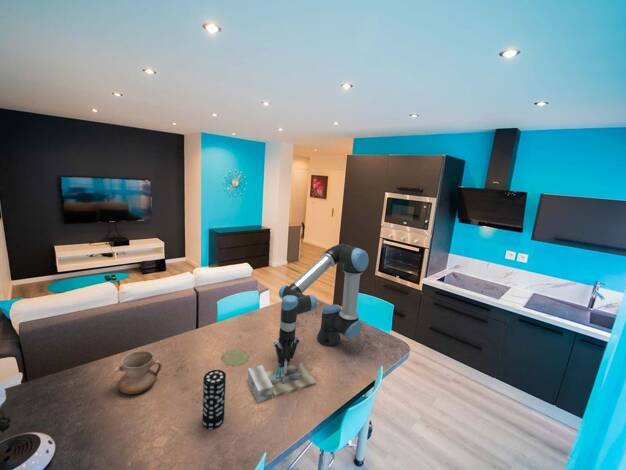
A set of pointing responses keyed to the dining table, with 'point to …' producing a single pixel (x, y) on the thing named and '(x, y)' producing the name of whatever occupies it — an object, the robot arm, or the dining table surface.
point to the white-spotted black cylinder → (213, 399)
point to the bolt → (277, 375)
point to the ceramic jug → (137, 372)
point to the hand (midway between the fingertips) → (284, 371)
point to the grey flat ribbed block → (291, 382)
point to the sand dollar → (235, 357)
